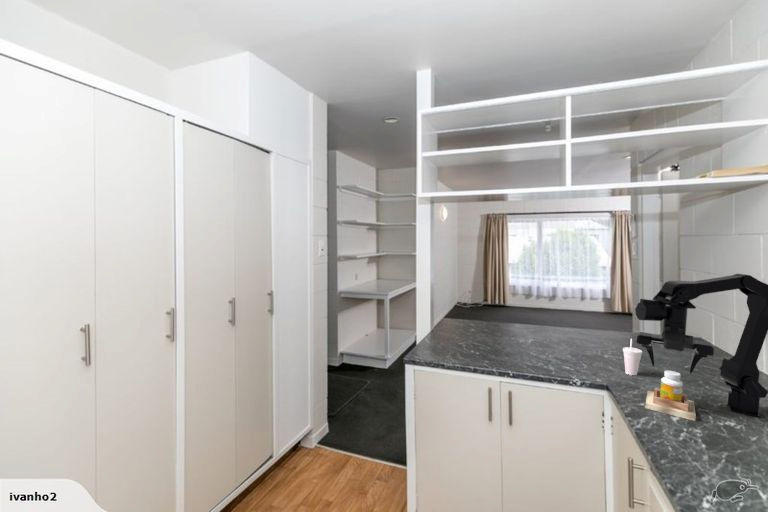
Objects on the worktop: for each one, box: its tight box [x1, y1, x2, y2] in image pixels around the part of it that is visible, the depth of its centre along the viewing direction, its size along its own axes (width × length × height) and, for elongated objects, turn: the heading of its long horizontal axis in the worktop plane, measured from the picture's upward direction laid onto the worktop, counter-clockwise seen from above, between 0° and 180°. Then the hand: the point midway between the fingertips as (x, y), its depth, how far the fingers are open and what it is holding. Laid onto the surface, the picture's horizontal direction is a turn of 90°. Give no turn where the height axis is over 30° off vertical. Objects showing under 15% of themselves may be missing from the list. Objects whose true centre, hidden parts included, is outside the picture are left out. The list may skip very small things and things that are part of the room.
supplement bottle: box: [660, 369, 684, 403], centre depth 114 cm, size 5×5×10 cm
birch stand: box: [644, 387, 697, 422], centre depth 114 cm, size 12×12×4 cm
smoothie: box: [622, 338, 643, 376], centre depth 140 cm, size 6×6×14 cm
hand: (671, 369), depth 115 cm, fingers open, 9 cm apart
